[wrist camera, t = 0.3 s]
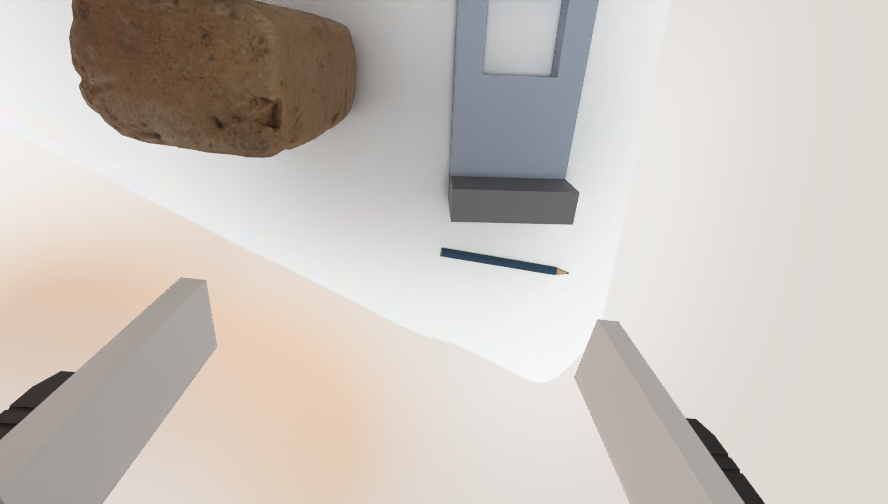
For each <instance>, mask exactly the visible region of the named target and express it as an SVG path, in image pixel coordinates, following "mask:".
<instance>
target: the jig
mask: <svg viewBox="0 0 888 504" xmlns="http://www.w3.org/2000/svg"><path fill="white" fill-rule="evenodd" d="M598 1H599V0H562V6H561V12H560V19H559V26H558V32H557V39H556V45H555V52H554V59H553V65H552V72H551V77H550V76H526V75H502V74H483V63H484V50H485V37H486V24H487V11H488V0H457V22H456V44H455V66H454V87H453V109H452V131H451V152H450V174H449V196H448V200H449V209H450V217H451V222H490V223H531V224H572V225H573V221H574V216H575V211H576V206H577V202H578V197H579V192H578V191H577V190H576V189H575V188H574V187H573V186H572V185H571V184H570V183H568V182H567V181H566V180H565V177H566V171H567V166H568V161H569V155H570V150H571V145H572V139H573V134H574V129H575V123H576V118H577V113H578V107H579V102H580V97H581V91H582V86H583V81H584V75H585V70H586V65H587V59H588V54H589V49H590V43H591V38H592V33H593V27H594V22H595V17H596V11H597V6H598Z"/></svg>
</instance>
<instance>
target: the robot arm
mask: <svg viewBox="0 0 888 504" xmlns="http://www.w3.org/2000/svg"><path fill="white" fill-rule="evenodd" d="M216 347H217V343H216V338H215V331H214V325H213V319H212V313H211V307H210V301H209V296H208V289H207V283H206V280H198V279H189V278H180V279H179V280H178V281H177V282H175V283H174V284H173V285H172V286H171V287H170V288H169V289H168V290H166V291H165V292H164V293H163V294H162V295H161V296H160V297H159V298H158V299H156V300H155V301H154V302H153V303H152V304H151V305H150V306H149V307H148V308H147V309H145V310H144V311H143V312H142V313H141V314H140V315H139V316H138V317H137V318H135V319H134V320H133V321H132V322H131V323H130V324H129V325H128V326H126V327H125V328H124V329H123V330H122V331H121V332H120V333H119V334H118V335H117V336H115V337H114V338H113V339H112V340H111V341H110V342H109V343H108V344H107V345H105V346H104V347H103V348H102V349H101V350H100V351H99V352H98V353H96V354H95V355H94V356H93V357H92V358H91V359H90V360H89V361H88V362H87V363H85V364H84V365H83V366H82V367H81V368H80V369H79V370H78V371H77V372H66V371H60V372H59V373H57V374H55V375H53V376H52V377H50V378H48V379H46V380H44V381H43V382H40V383H39V384H37V385H35V386H33V387H32V388H31V389H29V390H28V391H27V392H26V393H25V394H23V395H22V396H21V397H20V398H19V399H17V400H16V401H15V402H14V403H13V404H11V405H10V408H9V409H8V410H5V411H3V412H2V413H1V414H0V504H102V503H103V502H104V501H105V500H106V498H107V497H108V495H109V494H110V492H111V491H112V490H113V489H114V487H115V486H116V484H117V483H118V482H119V480H120V479H121V478H122V476H123V475H124V474H125V472H126V471H127V469H128V468H129V467H130V465H131V464H132V463H133V461H134V460H135V458H136V457H137V456H138V454H139V453H140V452H141V450H142V449H143V447H144V446H145V445H146V443H147V442H148V441H149V439H150V437H151V436H152V435H153V434H154V432H155V431H156V430H157V428H158V427H159V425H160V424H161V423H162V421H163V420H164V419H165V417H166V416H167V414H168V413H169V412H170V410H171V409H172V408H173V406H174V405H175V403H176V402H177V401H178V399H179V398H180V397H181V395H182V394H183V392H184V391H185V390H186V388H187V387H188V386H189V384H190V383H191V382H192V380H193V379H194V377H195V376H196V374H197V373H198V372H199V371H200V369H201V368H202V366H203V365H204V364H205V362H206V361H207V359H208V358H209V357H210V355H211V354H212V353H213V351H214V350H215V348H216ZM575 380H576V382H577V384H578V386H579V389H580V391H581V393H582V395H583V398H584V400H585V402H586V405H587V406H588V409H589V411H590V414H591V416H592V418H593V421H594V423H595V425H596V427H597V430H598V432H599V434H600V436H601V439H602V441H603V443H604V445H605V447H606V450H607V452H608V454H609V457H610V459H611V461H612V464H613V466H614V468H615V470H616V472H617V475H618V477H619V479H620V482H621V484H622V486H623V489H624V490H625V493H626V495H627V498H628V500H629V502H630V504H765V503H764V502H763V500H762V499H761V498H760V497H759V495H758V494H757V493H756V491H755V490H754V488H753V487H752V486H751V484H750V483H749V482H748V480H747V479H746V477H745V476H744V475H743V474H741V473H740V469H739V468H738V467H737V466H736V464H735V463H734V461H733V460H732V459H731V458H729V457H728V453H727V452H726V450H725V449H724V448H723V447H722V445H721V444H720V442H719V441H718V440H717V438H716V437H715V436H714V435H713V434H712V433H711V432H710V431H709V430H707V428H705V427H704V426H703V425H702V424H701V423H700V422H699V421H698V420H696V419H688V418H685V417H684V416H683V414H682V413H681V411H680V410H679V408H678V407H677V405H676V404H675V402H674V401H673V400H672V398H671V397H670V395H669V394H668V392H667V391H666V390H665V388H664V387H663V385H662V384H661V383H660V381H659V380H658V378H657V377H656V375H655V374H654V372H653V371H652V369H651V368H650V367H649V365H648V364H647V362H646V361H645V359H644V358H643V357H642V355H641V354H640V352H639V351H638V349H637V348H636V347H635V345H634V344H633V342H632V341H631V339H630V338H629V336H628V335H627V333H626V332H625V331H624V329H623V328H622V326H621V325H620V323H619V322H617V321H606V320H597V322H596V325H595V327H594V330H593V332H592V335H591V337H590V340H589V342H588V345H587V347H586V350H585V352H584V354H583V357H582V359H581V362H580V364H579V367H578V369H577V372H576V374H575Z"/></svg>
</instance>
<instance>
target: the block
mask: <svg viewBox="0 0 888 504" xmlns="http://www.w3.org/2000/svg"><path fill="white" fill-rule="evenodd" d="M72 11H73V18H74V19H73V22H72V26H71V30H70V37H69V40H70V47H71V55H72V63H73V65H74V68H75V70H76V71H77V72H78V74H79V75H80V76H81V78H82V81H81V83H80V85H79V88H80V91H81V94H82V96H83V98H84V100H85V101H86V103H87V105H88V106H89V107H91V108H92V109H93V110H94V111H95V112H97V113H99V114H100V115H101V116H102V118H103V119H104V121H105V122H106V123H108V124H109V125H110V126H111V127H113V128H114V129H115V130H117V131H118V132H119V133H120V134H122V135H124V136H127V137H130V138H133V139H136V140H139V141H143V142H147V143H153V144H161V145H169V146H177V147H179V148H187V149H193V150H198V151H203V152H209V153H220V154H231V155H238V156H244V157H262V158H264V157H272V156H274V155H276V154H278V153H280V152H281V151H283V150H284V149H293V148H295V147H298V146H300V145H302V144H305V143H306V142H309V141H311V140H313V139H315V138H317V137H318V136H319V135H321V134H322V133H324V132H325V131H326V130H328V129H330V128H332V127H334V126H335V125H337V124H338V123H339V122H340V121H342V120H343V119H344V118H345V117H346V116H347V114H348V113H349V112H350V110H351V108H352V104H353V98H354V93H355V79H356V57H355V52H354V48H353V44H352V40H351V35H350V32H349V30H348V28H347V27H346V26H344V25H342V24H340V23H338V22H335V21H333V20H330V19H327V18H323V17H321V16H317V15H314V14H310V13H306V12H302V11H298V10H293V9H289V8H284V7H280V6H276V5H271V4H266V3H262V2H258V1H255V0H72Z"/></svg>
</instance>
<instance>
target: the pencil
mask: <svg viewBox="0 0 888 504" xmlns="http://www.w3.org/2000/svg"><path fill="white" fill-rule="evenodd" d="M440 256H443V257H449V258H455V259H461V260H467V261H473V262H479V263H485V264H491V265H497V266H503V267H510V268H516V269H522V270H528V271H534V272H540V273H546V274H552V275H560V274H569V273H567V272H565V271H563V270H561V269H559V268H556V267H551V266H545V265H539V264H533V263H527V262H521V261H515V260H509V259H503V258H497V257H492V256H486V255H480V254H474V253H468V252H462V251H456V250H450V249H444V248H442V250H441V254H440Z"/></svg>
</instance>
